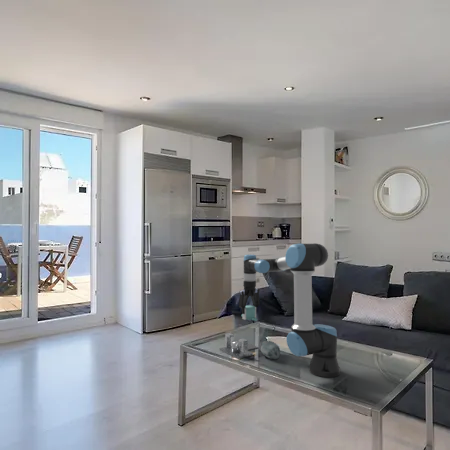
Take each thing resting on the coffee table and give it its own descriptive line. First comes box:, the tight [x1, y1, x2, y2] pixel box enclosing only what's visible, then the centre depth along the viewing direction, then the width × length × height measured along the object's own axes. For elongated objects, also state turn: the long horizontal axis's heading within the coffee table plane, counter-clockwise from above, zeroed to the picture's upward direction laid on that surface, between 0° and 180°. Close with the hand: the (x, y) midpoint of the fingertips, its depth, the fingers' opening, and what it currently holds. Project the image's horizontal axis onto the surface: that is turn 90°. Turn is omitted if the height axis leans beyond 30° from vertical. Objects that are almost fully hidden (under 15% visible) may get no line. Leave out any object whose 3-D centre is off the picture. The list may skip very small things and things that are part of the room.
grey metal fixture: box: [218, 332, 254, 360], centre depth 219 cm, size 18×11×9 cm, turn 35°
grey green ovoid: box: [260, 340, 281, 360], centre depth 213 cm, size 14×10×10 cm
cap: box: [240, 305, 258, 322], centre depth 228 cm, size 13×7×7 cm, turn 35°
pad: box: [240, 343, 259, 351], centre depth 228 cm, size 8×8×1 cm
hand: (249, 318), depth 228 cm, fingers closed on cap, 7 cm apart
